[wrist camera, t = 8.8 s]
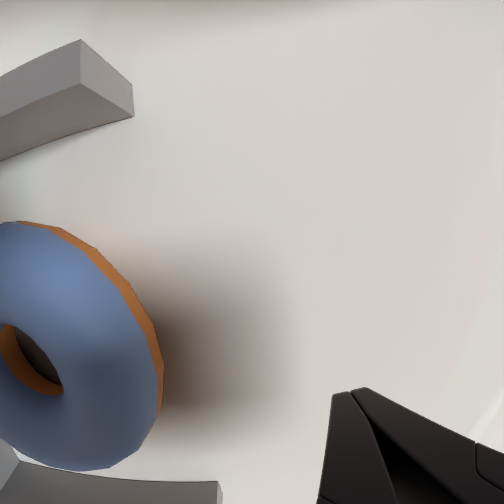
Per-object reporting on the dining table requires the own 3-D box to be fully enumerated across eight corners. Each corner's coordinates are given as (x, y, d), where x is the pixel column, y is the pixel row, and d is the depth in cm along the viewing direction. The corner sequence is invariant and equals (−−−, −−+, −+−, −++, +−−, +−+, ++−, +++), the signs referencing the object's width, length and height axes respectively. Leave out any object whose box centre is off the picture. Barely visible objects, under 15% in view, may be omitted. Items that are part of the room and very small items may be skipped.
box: (131, 84, 9) (80, 39, 5) (222, 494, 13) (220, 555, 9) (-86, 183, 9) (-137, 190, 5) (17, 469, 13) (-7, 507, 9)
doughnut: (-39, 209, 10) (-111, 237, 5) (172, 214, 11) (138, 259, 6) (5, 391, 12) (-31, 446, 8) (177, 426, 13) (169, 505, 9)
